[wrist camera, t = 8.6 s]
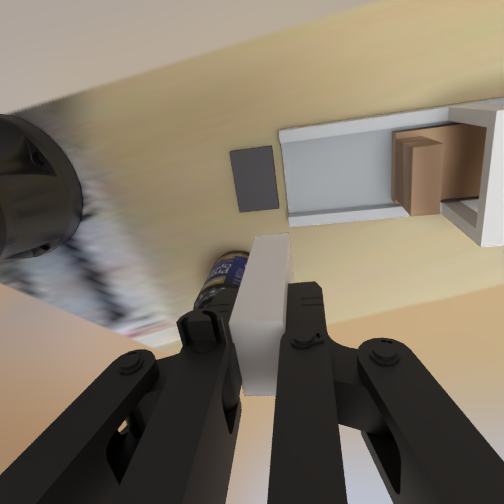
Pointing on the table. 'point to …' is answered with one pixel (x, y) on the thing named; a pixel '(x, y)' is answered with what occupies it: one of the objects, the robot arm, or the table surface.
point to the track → (387, 169)
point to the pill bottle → (222, 277)
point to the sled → (436, 165)
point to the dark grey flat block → (255, 179)
